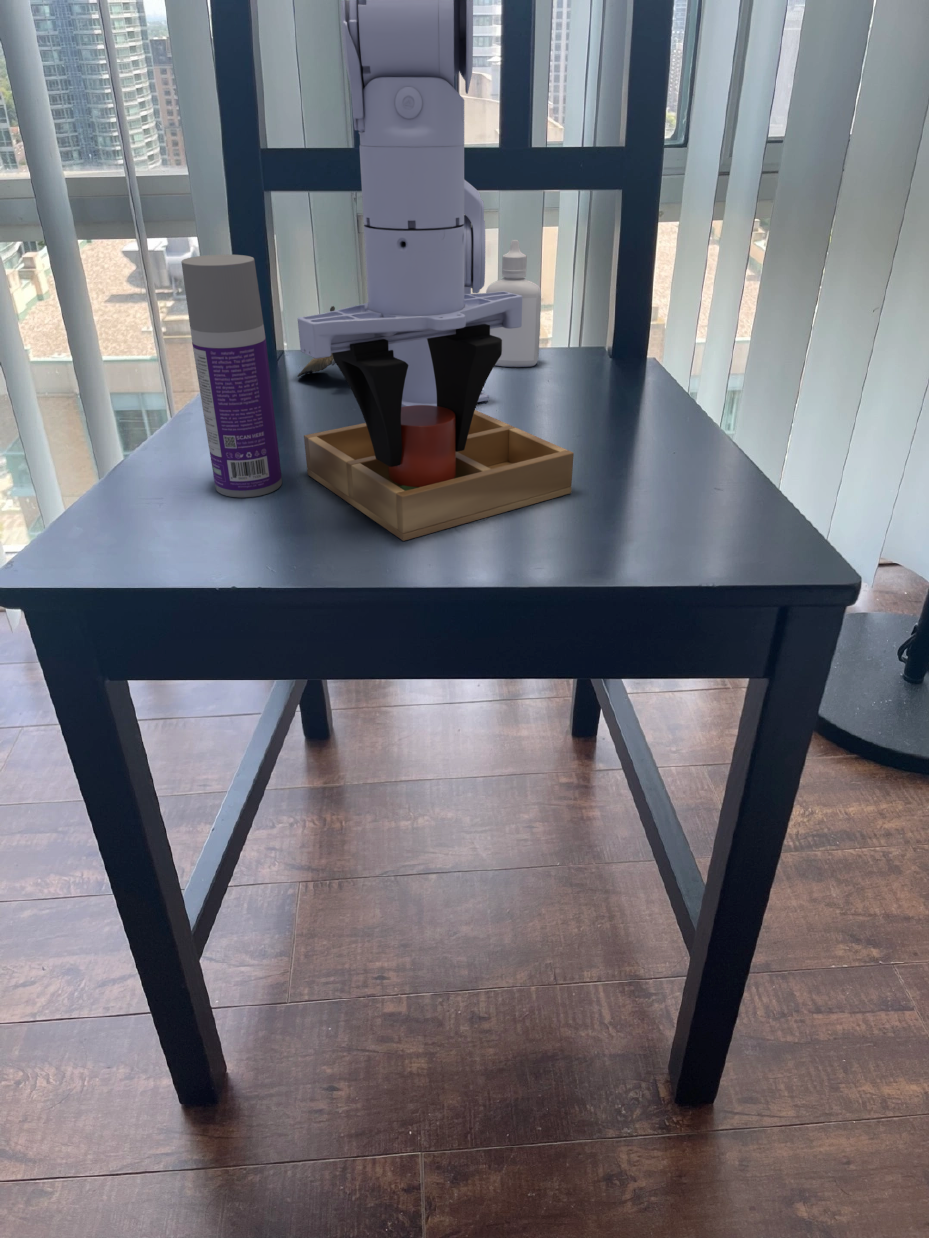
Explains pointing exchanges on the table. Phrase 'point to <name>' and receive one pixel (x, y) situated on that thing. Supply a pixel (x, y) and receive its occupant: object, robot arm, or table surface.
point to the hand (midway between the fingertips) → (420, 454)
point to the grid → (483, 485)
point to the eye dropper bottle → (523, 340)
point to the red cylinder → (426, 446)
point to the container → (233, 373)
